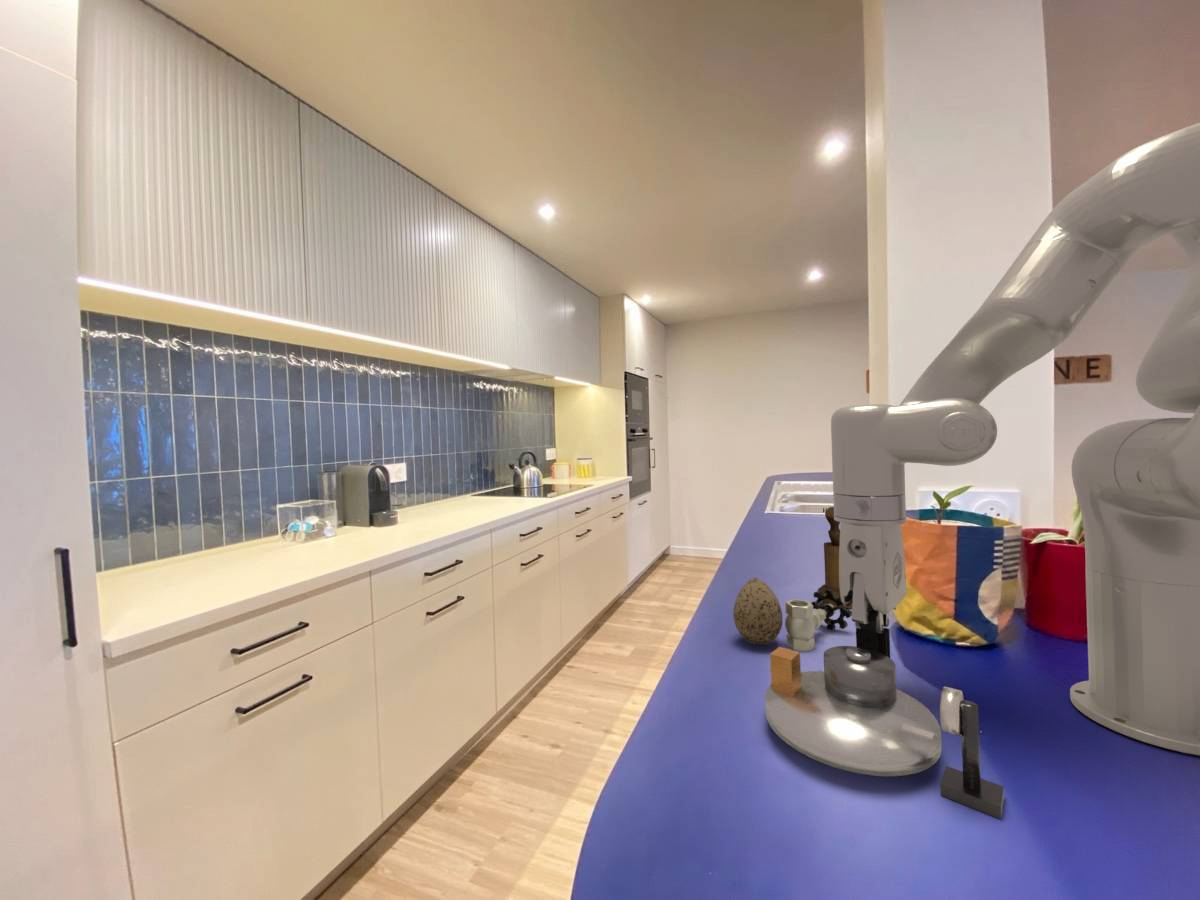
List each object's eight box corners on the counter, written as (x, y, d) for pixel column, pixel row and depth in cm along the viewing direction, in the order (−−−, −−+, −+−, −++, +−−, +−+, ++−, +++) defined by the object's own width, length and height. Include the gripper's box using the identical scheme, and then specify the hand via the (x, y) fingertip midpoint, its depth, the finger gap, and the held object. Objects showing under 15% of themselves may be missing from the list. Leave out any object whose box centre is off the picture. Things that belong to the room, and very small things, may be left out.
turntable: (954, 716, 49) (952, 664, 49) (922, 804, 38) (919, 737, 38) (799, 670, 61) (798, 627, 61) (738, 727, 49) (736, 675, 49)
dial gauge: (1004, 796, 40) (1001, 694, 40) (1000, 821, 38) (997, 712, 38) (947, 774, 43) (943, 679, 43) (940, 797, 41) (936, 695, 41)
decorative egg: (724, 640, 74) (722, 577, 74) (758, 630, 77) (756, 570, 77) (758, 657, 68) (755, 588, 68) (794, 646, 71) (791, 580, 71)
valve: (815, 658, 67) (853, 634, 75) (813, 612, 67) (851, 592, 75) (773, 644, 72) (812, 623, 80) (771, 601, 72) (811, 584, 80)
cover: (903, 688, 53) (902, 650, 52) (887, 716, 48) (885, 673, 47) (836, 669, 57) (835, 634, 57) (815, 692, 52) (813, 654, 52)
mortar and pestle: (858, 600, 89) (855, 505, 89) (856, 611, 84) (852, 510, 84) (820, 595, 93) (816, 504, 93) (815, 606, 87) (811, 508, 87)
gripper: (887, 520, 49) (892, 696, 49) (919, 503, 59) (924, 648, 60) (812, 514, 54) (817, 673, 54) (854, 499, 65) (859, 633, 65)
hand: (873, 660), depth 57 cm, fingers closed
